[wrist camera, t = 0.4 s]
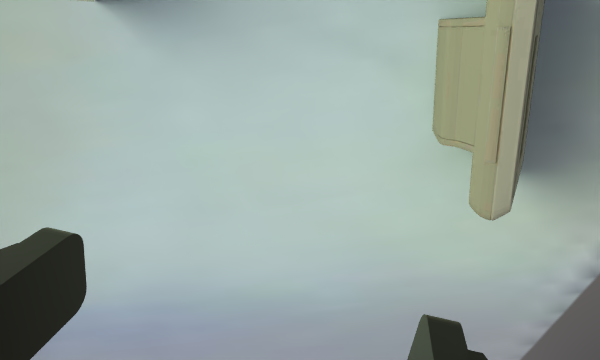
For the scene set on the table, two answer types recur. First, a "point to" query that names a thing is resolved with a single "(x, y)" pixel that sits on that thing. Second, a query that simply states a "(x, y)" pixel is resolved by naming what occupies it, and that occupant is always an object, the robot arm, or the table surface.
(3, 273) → the robot arm
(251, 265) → the table surface
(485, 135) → the digital clock
